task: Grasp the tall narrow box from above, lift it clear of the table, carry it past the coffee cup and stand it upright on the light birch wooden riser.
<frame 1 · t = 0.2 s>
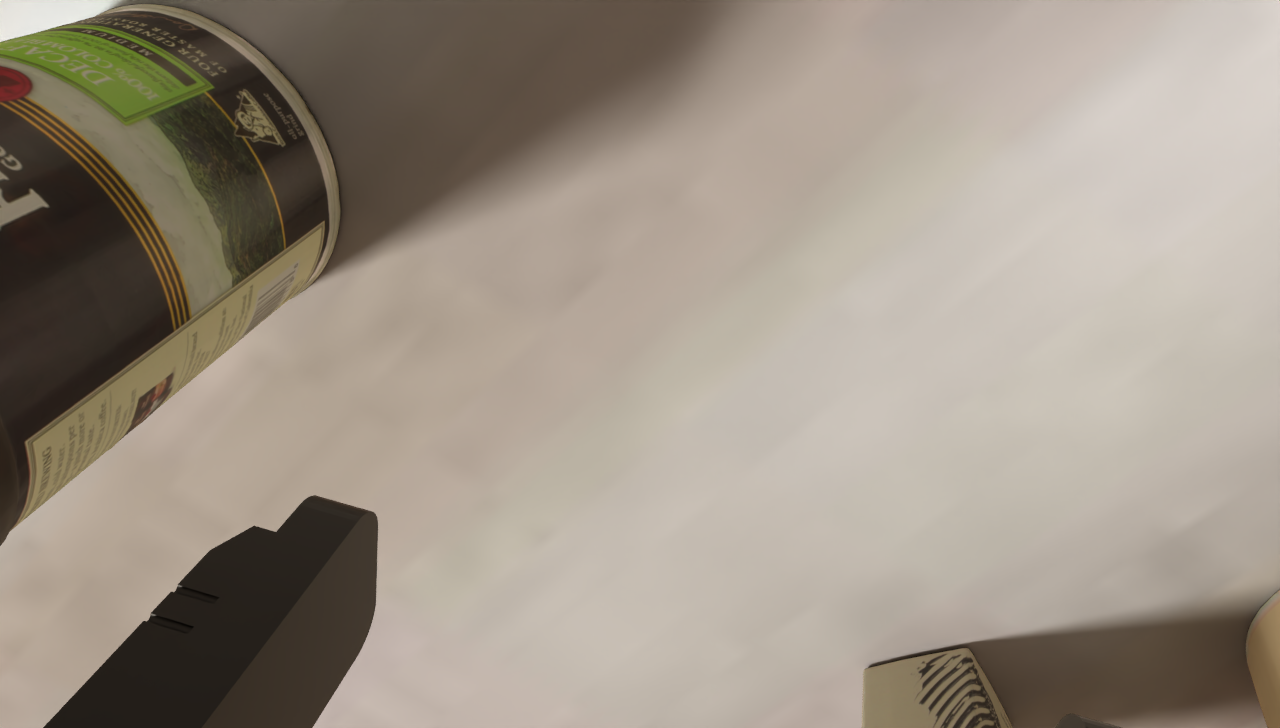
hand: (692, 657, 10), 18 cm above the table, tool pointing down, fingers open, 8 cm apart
box: (935, 690, 35), on the table
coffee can: (200, 166, 30), on the table
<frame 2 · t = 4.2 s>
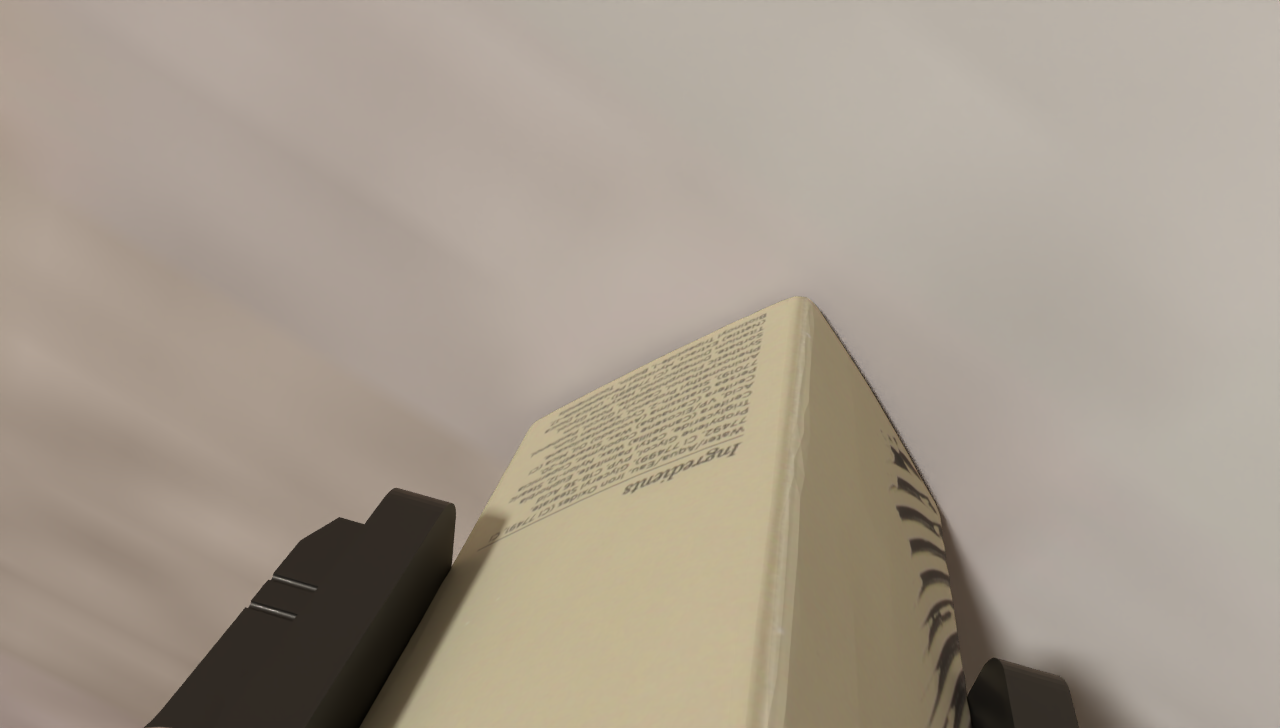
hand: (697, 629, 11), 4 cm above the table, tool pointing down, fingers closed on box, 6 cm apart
box: (739, 448, 14), on the table, touching gripper
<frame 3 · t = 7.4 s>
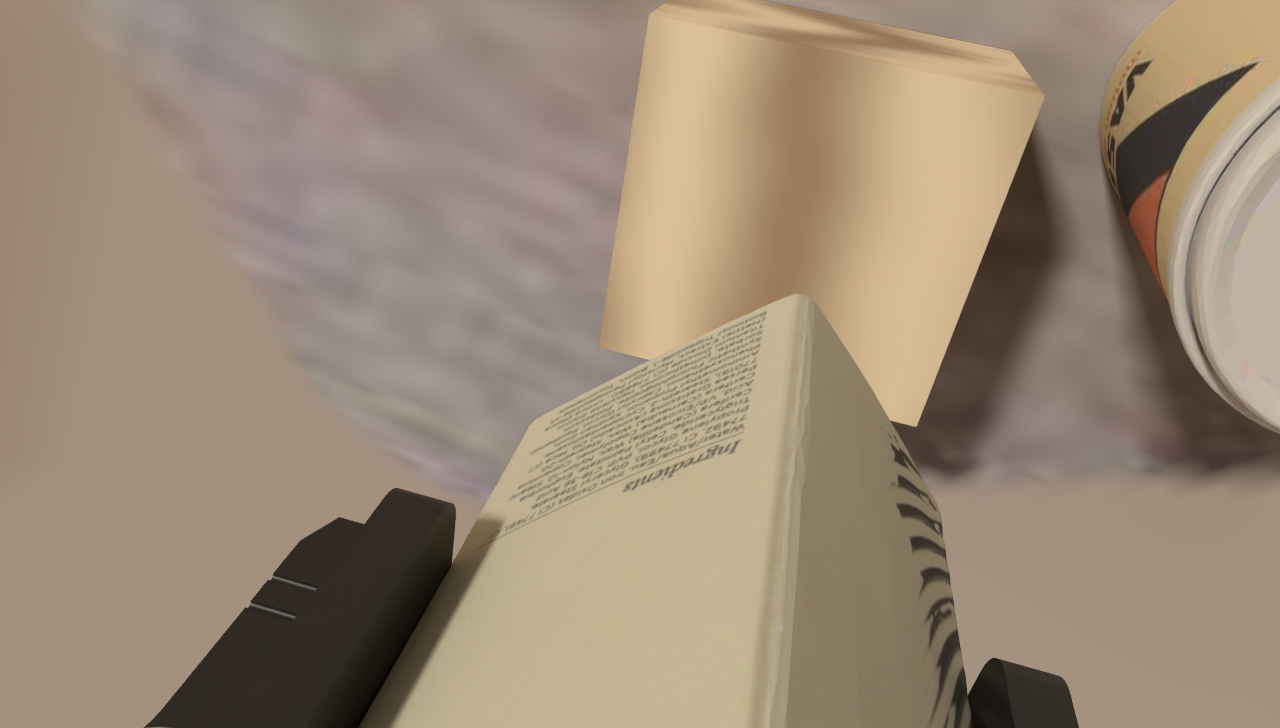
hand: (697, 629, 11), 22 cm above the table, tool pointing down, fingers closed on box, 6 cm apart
coffee cup: (1238, 104, 27), on the table
box: (739, 446, 14), point 18 cm above the table, touching gripper
riser: (806, 172, 30), on the table
when the fingers open (11 cm above the table, at t = 10.6 s): box stays where it is, resting on riser.
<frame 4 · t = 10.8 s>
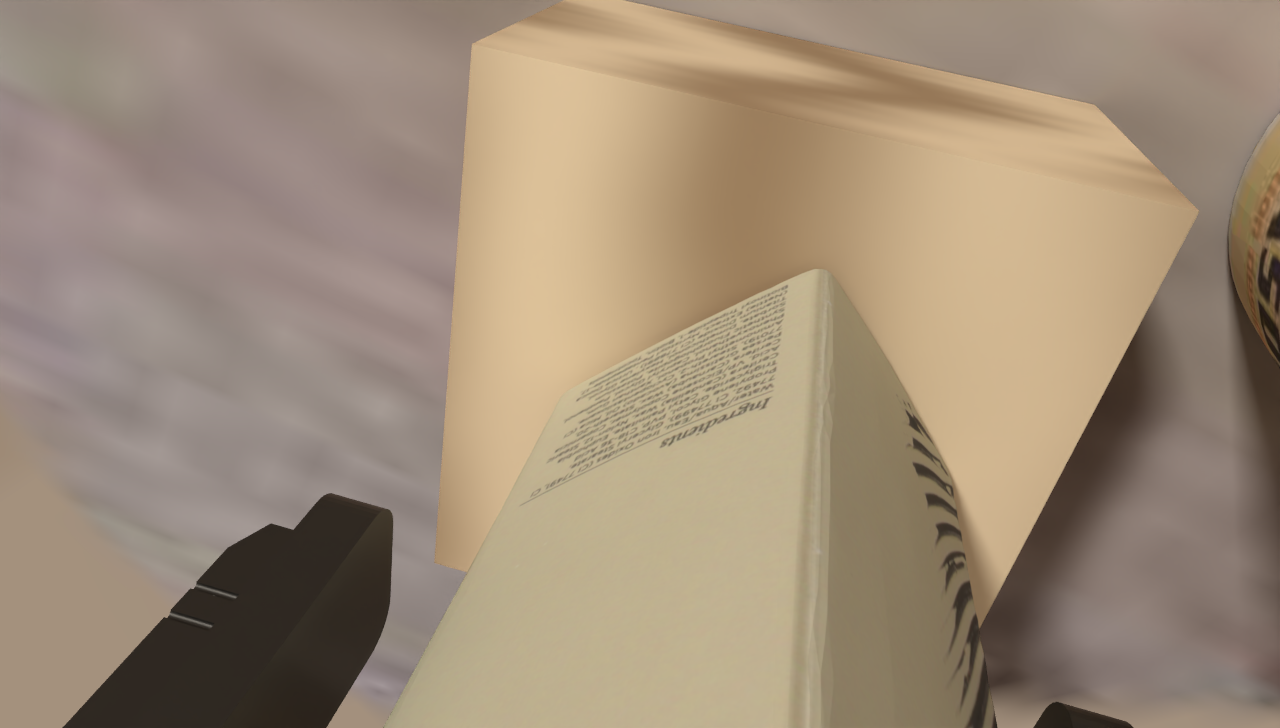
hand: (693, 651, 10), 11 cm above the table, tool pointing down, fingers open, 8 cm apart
box: (759, 416, 15), point 6 cm above the table, touching riser
riser: (768, 278, 20), on the table
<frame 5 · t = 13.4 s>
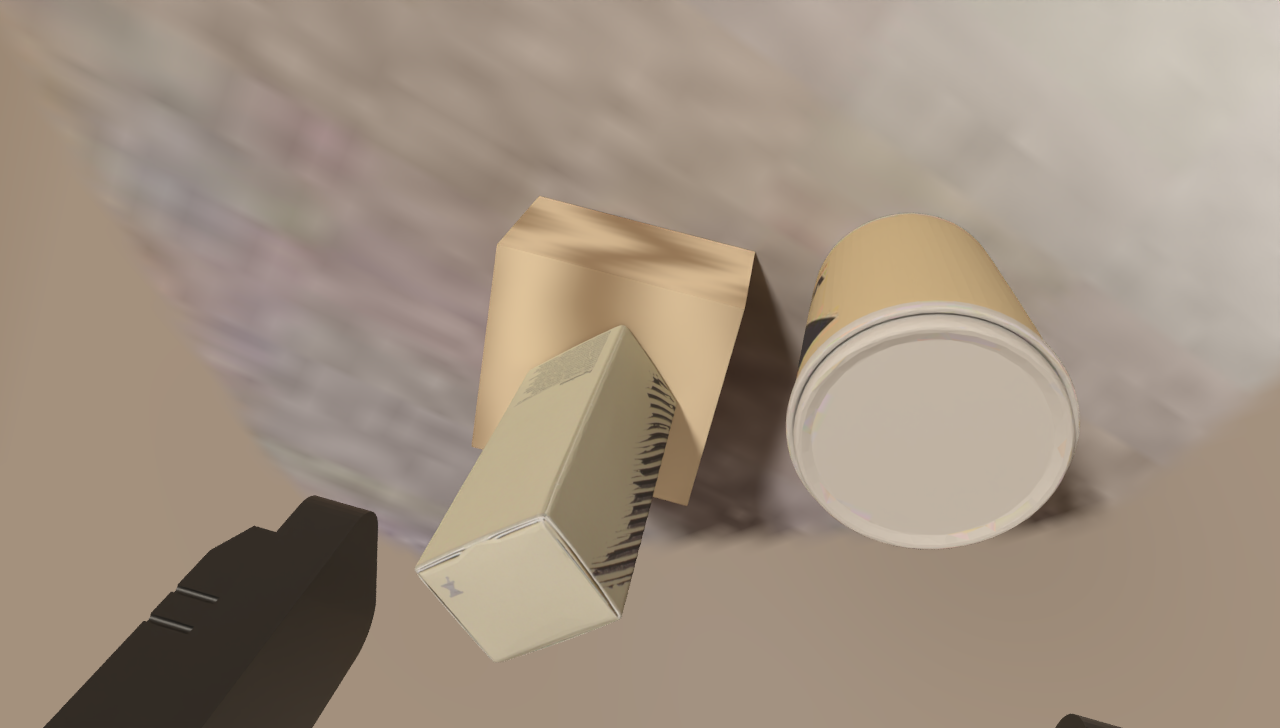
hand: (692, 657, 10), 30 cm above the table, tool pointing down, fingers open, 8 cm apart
coffee cup: (902, 293, 40), on the table
box: (606, 380, 38), point 6 cm above the table, touching riser
riser: (625, 320, 43), on the table
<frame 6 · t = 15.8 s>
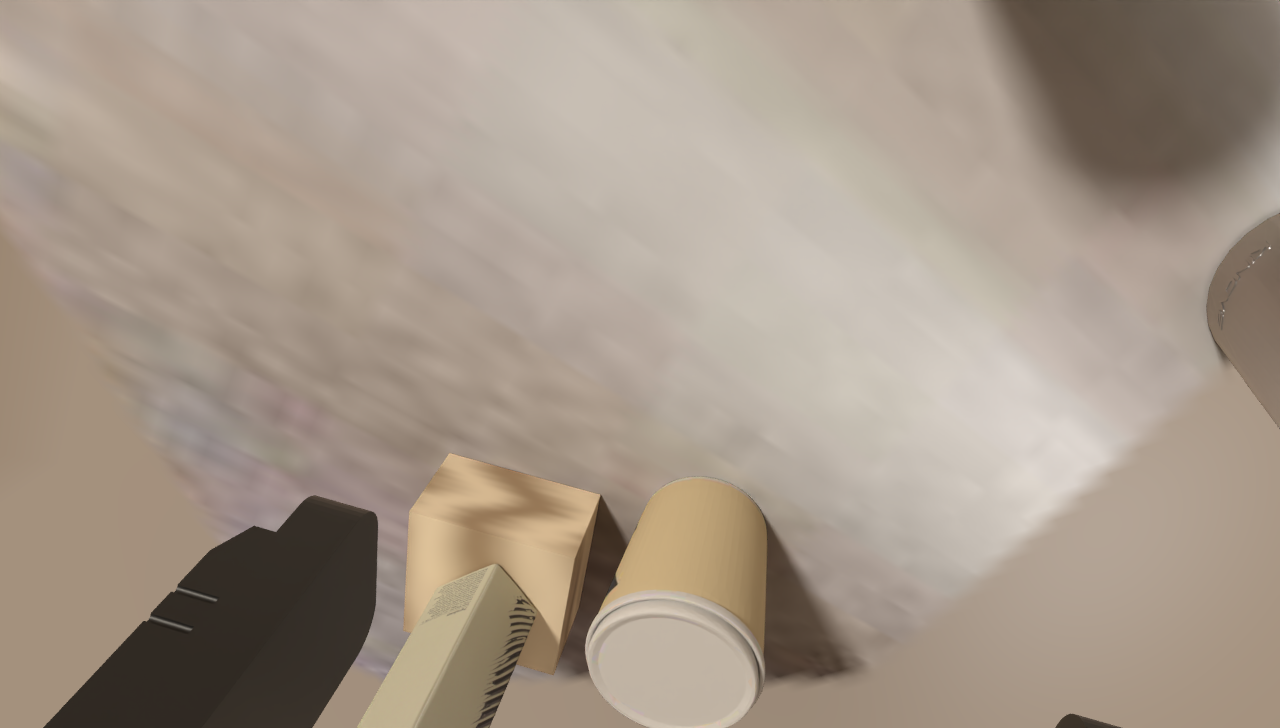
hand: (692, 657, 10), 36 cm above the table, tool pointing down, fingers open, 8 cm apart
coffee cup: (705, 524, 56), on the table
box: (490, 594, 54), point 6 cm above the table, touching riser
riser: (516, 532, 59), on the table
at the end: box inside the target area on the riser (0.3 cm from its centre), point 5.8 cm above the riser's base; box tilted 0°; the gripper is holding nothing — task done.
